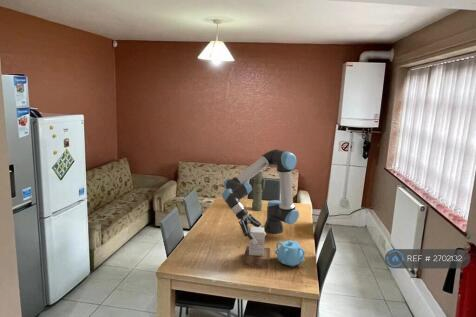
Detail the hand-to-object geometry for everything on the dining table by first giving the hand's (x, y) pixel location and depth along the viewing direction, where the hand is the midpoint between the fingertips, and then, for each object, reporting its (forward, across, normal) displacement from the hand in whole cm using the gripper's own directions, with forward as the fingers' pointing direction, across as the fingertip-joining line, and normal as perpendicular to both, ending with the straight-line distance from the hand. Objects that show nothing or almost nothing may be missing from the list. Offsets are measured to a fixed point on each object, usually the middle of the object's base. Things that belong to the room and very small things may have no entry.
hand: (260, 239), depth 197 cm
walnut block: (+9, 0, -12) cm, 15 cm away
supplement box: (+5, +1, -8) cm, 9 cm away
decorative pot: (+22, -10, +1) cm, 24 cm away
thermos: (-18, -87, -38) cm, 97 cm away
